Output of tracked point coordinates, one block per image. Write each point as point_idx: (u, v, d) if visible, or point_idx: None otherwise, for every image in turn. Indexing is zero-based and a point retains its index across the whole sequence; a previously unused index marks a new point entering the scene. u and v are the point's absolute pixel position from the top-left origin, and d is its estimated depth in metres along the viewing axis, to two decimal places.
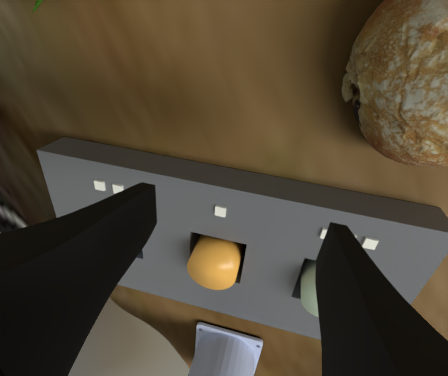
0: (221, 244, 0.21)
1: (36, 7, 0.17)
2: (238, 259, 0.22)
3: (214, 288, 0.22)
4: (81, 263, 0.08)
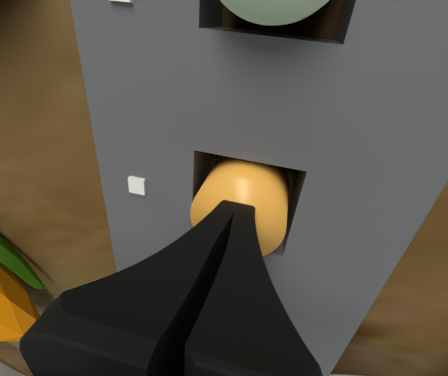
0: None
1: (37, 286, 0.23)
2: (229, 165, 0.11)
3: (282, 225, 0.11)
4: (199, 295, 0.07)
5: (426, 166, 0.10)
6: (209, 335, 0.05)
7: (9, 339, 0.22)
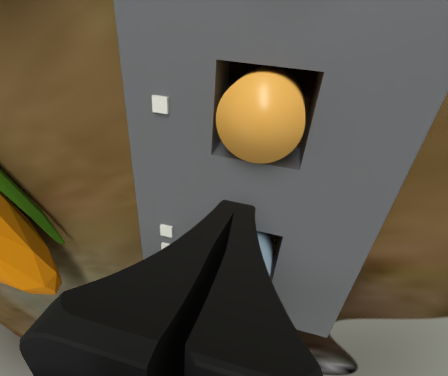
0: None
1: (58, 240, 0.24)
2: (251, 72, 0.13)
3: (301, 120, 0.12)
4: (199, 295, 0.07)
5: (438, 54, 0.10)
6: (209, 335, 0.05)
7: (31, 289, 0.23)
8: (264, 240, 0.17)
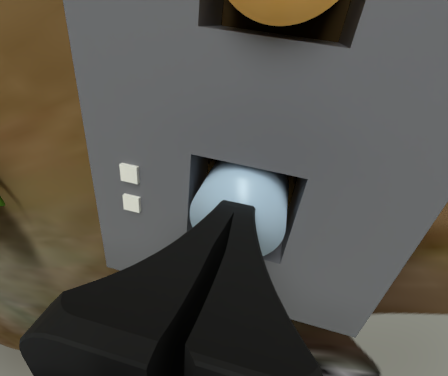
0: None
1: None
2: None
3: None
4: (199, 295, 0.07)
5: None
6: (209, 335, 0.05)
7: None
8: (277, 178, 0.12)
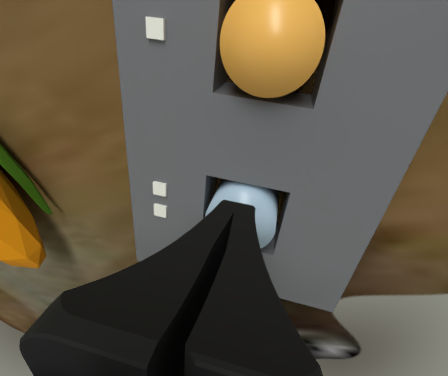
0: None
1: (46, 209, 0.22)
2: None
3: (320, 39, 0.10)
4: (199, 295, 0.07)
5: None
6: (209, 335, 0.05)
7: (12, 260, 0.21)
8: (270, 191, 0.16)
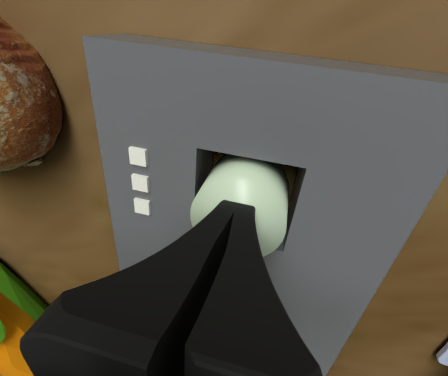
0: None
1: None
2: None
3: None
4: (199, 295, 0.07)
5: (342, 314, 0.15)
6: (209, 335, 0.05)
7: None
8: None
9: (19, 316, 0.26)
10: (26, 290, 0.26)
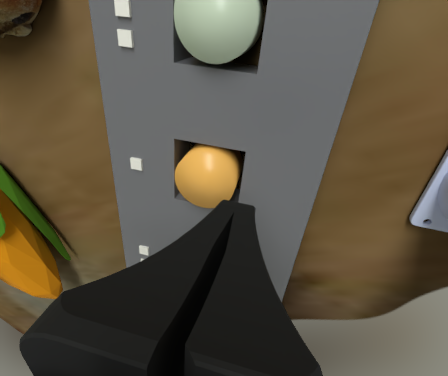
0: None
1: (66, 257, 0.29)
2: (200, 145, 0.18)
3: (231, 182, 0.17)
4: (199, 295, 0.07)
5: (315, 147, 0.15)
6: (209, 335, 0.05)
7: (40, 295, 0.28)
8: None
9: (18, 219, 0.26)
10: (25, 197, 0.27)
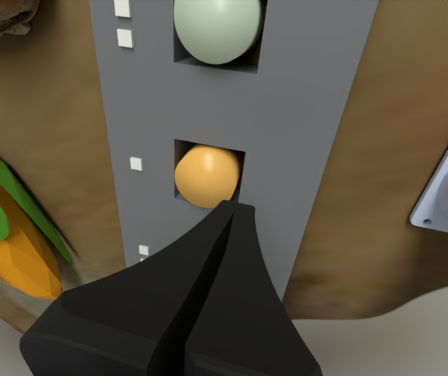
0: None
1: (68, 259, 0.29)
2: (200, 145, 0.18)
3: (231, 182, 0.17)
4: (199, 295, 0.07)
5: (315, 147, 0.15)
6: (209, 335, 0.05)
7: (40, 296, 0.28)
8: None
9: (22, 220, 0.26)
10: (29, 198, 0.27)
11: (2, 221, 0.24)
